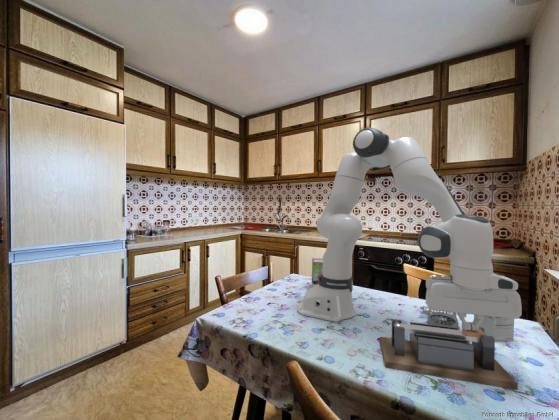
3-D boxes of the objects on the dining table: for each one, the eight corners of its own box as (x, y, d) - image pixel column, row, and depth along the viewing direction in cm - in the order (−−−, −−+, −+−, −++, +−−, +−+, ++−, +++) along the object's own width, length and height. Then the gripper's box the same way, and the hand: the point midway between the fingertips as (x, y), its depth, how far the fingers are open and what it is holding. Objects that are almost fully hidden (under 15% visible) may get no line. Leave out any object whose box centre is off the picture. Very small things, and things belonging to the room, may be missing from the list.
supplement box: (472, 330, 84) (473, 293, 84) (492, 329, 85) (493, 292, 85) (493, 341, 77) (493, 301, 77) (515, 341, 78) (515, 300, 77)
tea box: (313, 291, 121) (313, 261, 121) (311, 285, 132) (311, 257, 131) (344, 292, 121) (344, 262, 121) (340, 286, 131) (340, 258, 131)
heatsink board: (385, 367, 64) (385, 330, 64) (379, 341, 77) (380, 310, 77) (517, 389, 57) (518, 348, 57) (487, 356, 69) (487, 322, 69)
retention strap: (395, 332, 68) (395, 323, 68) (393, 327, 71) (393, 318, 71) (490, 345, 62) (490, 335, 62) (484, 338, 65) (484, 329, 65)
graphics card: (420, 304, 99) (457, 310, 92) (420, 314, 99) (457, 320, 92) (418, 322, 84) (462, 330, 78) (419, 333, 84) (462, 342, 78)
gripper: (429, 277, 64) (428, 330, 65) (526, 284, 59) (525, 342, 59) (422, 271, 71) (422, 319, 71) (510, 276, 65) (509, 329, 65)
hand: (470, 330), depth 65 cm, fingers closed, pressing on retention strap
